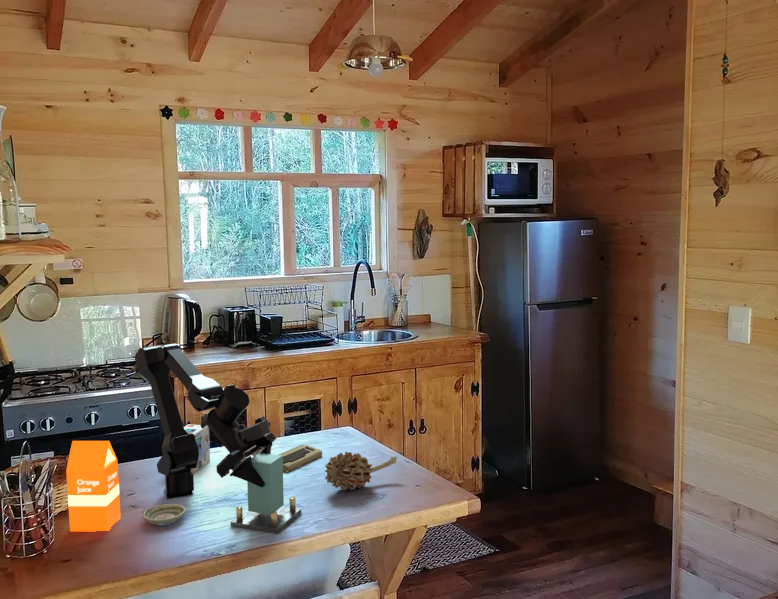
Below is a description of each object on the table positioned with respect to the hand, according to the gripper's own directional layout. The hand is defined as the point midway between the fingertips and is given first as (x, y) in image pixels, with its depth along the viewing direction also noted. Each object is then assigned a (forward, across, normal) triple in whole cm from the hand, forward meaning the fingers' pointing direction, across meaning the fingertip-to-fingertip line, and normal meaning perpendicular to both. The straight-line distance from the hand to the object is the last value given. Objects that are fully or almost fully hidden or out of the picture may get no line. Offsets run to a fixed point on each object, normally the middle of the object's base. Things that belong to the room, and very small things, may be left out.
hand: (270, 481), depth 173 cm
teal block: (+4, 0, +6) cm, 7 cm away
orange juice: (-20, -15, +34) cm, 42 cm away
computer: (-2, +39, +17) cm, 43 cm away
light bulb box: (-21, +26, +35) cm, 49 cm away
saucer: (-10, -8, +24) cm, 27 cm away
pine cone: (+15, +27, -2) cm, 31 cm away
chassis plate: (+6, 0, +8) cm, 10 cm away
